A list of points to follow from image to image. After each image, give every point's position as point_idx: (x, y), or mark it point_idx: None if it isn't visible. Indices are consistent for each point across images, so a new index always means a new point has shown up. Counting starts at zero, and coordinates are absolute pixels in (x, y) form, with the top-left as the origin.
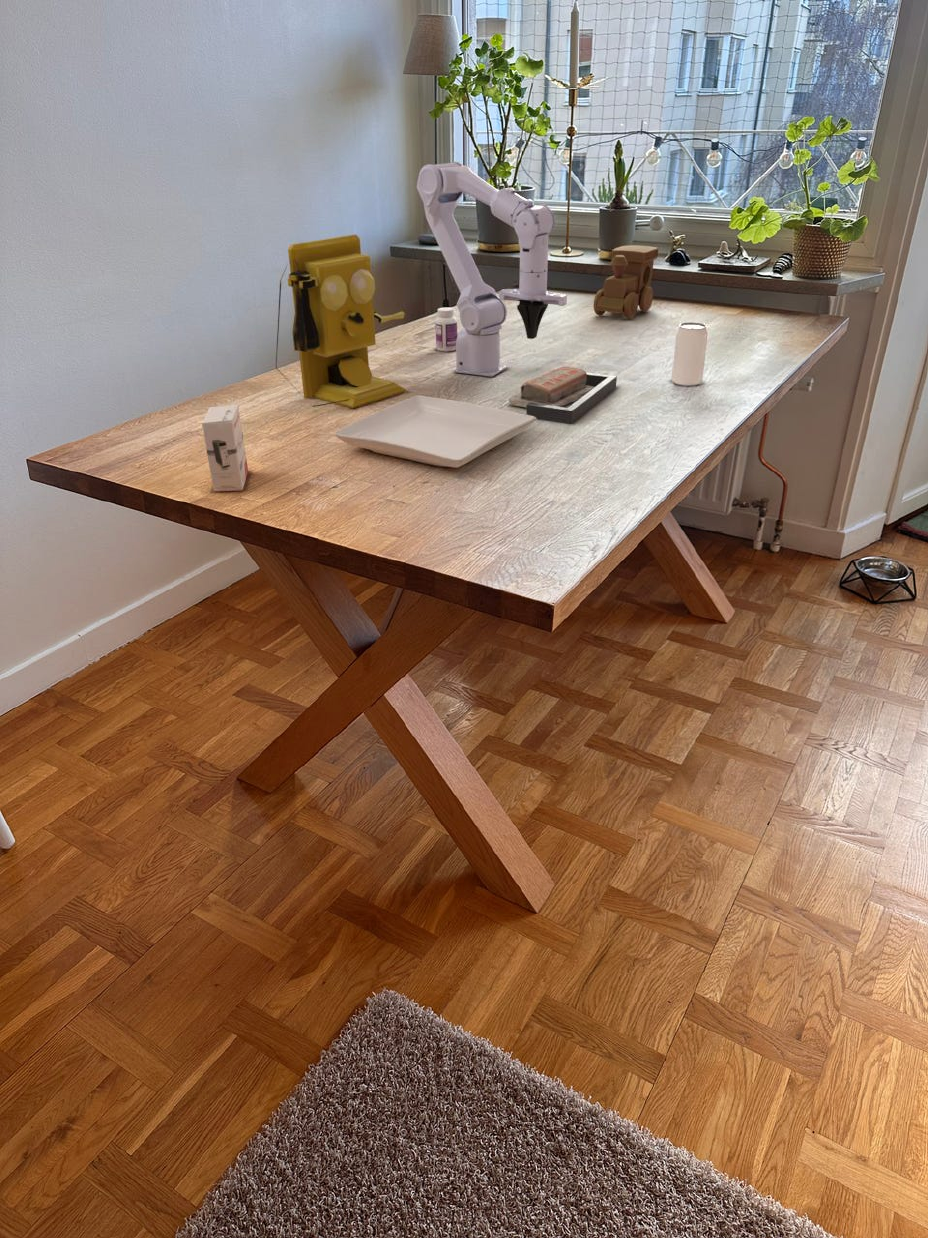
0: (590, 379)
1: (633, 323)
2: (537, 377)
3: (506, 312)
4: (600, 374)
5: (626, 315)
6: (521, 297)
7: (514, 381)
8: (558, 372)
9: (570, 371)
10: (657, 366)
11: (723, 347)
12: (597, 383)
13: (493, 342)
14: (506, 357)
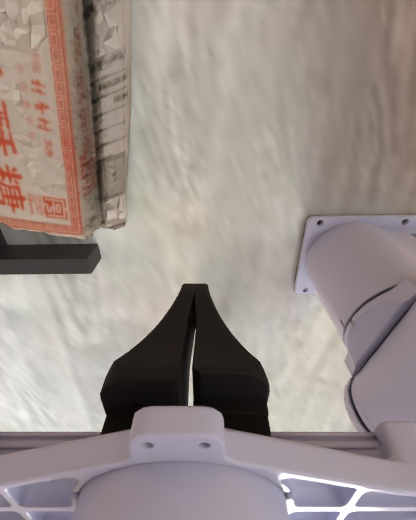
0: (42, 252)
1: None
2: (55, 44)
3: (350, 415)
4: (19, 271)
5: None
6: (212, 420)
7: (238, 209)
8: (41, 159)
9: (18, 188)
10: (37, 389)
11: None
12: (27, 249)
13: (345, 289)
14: (317, 351)
